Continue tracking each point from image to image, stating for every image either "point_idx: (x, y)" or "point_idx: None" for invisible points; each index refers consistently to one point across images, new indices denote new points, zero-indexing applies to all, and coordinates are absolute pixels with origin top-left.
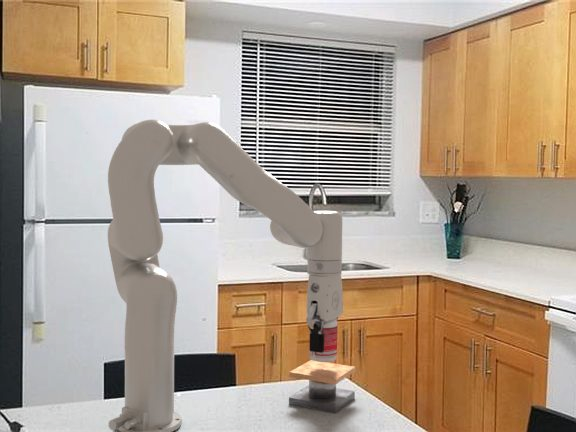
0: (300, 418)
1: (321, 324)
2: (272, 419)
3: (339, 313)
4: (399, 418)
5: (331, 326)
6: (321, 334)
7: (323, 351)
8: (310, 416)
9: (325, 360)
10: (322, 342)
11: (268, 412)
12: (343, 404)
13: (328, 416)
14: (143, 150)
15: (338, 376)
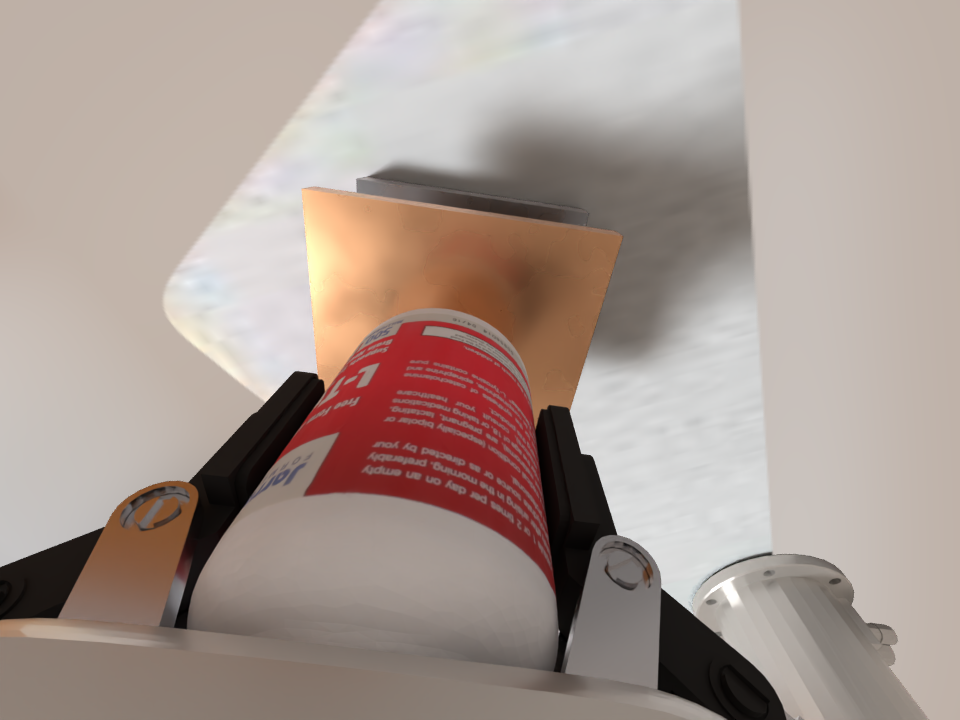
0: (664, 318)
1: (656, 675)
2: (687, 393)
3: (52, 709)
4: None
5: (494, 547)
6: (616, 537)
7: (553, 405)
8: (636, 291)
9: (521, 360)
10: (579, 463)
11: (626, 419)
12: (496, 196)
13: (622, 226)
14: None
15: (551, 239)
